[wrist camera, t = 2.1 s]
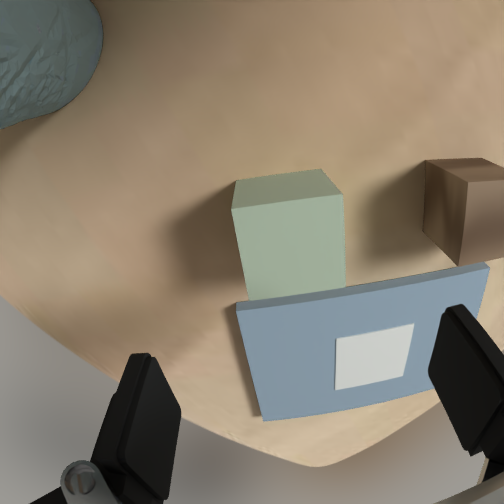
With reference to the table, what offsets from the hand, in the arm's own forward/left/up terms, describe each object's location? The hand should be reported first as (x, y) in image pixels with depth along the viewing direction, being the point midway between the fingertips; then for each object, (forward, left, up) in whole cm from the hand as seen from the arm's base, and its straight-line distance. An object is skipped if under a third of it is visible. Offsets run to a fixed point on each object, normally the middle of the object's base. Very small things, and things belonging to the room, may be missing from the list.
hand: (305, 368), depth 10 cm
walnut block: (-1, +12, -12) cm, 17 cm away
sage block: (-1, 0, -12) cm, 12 cm away
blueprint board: (+12, +6, -12) cm, 18 cm away
